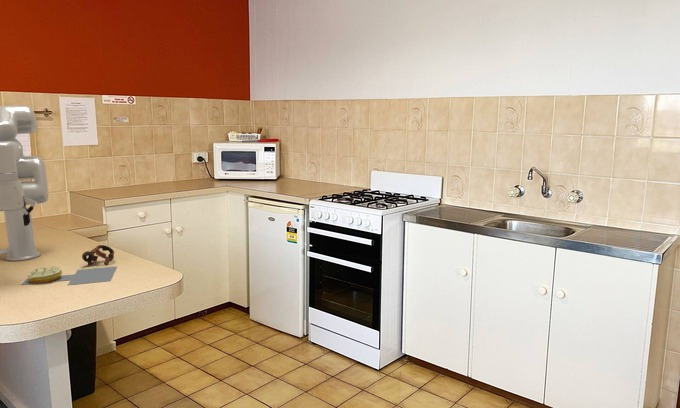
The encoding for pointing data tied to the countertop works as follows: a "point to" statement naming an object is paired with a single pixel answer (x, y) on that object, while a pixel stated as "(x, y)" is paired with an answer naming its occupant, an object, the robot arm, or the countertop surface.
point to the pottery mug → (99, 253)
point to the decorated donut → (44, 274)
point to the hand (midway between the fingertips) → (11, 226)
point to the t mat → (85, 276)
